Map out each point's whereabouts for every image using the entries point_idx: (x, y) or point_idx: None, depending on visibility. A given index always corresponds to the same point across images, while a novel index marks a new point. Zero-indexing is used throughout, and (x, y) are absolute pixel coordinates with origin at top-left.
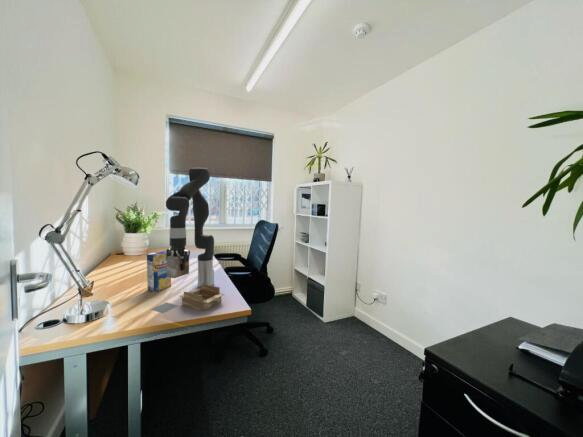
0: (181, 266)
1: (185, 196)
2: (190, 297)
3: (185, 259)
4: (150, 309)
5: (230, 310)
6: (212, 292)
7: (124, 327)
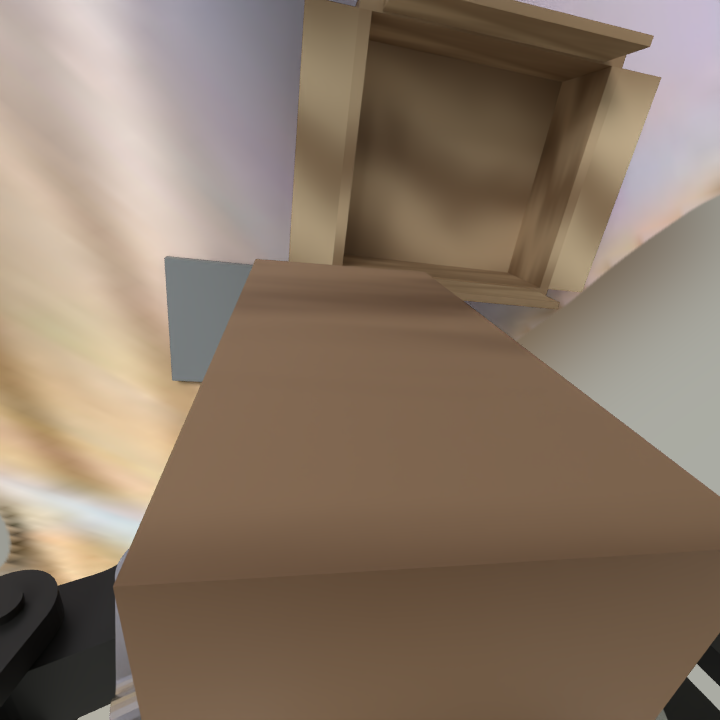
0: None
1: None
2: None
3: (703, 707)
4: (175, 380)
5: (668, 195)
6: (522, 49)
7: None
